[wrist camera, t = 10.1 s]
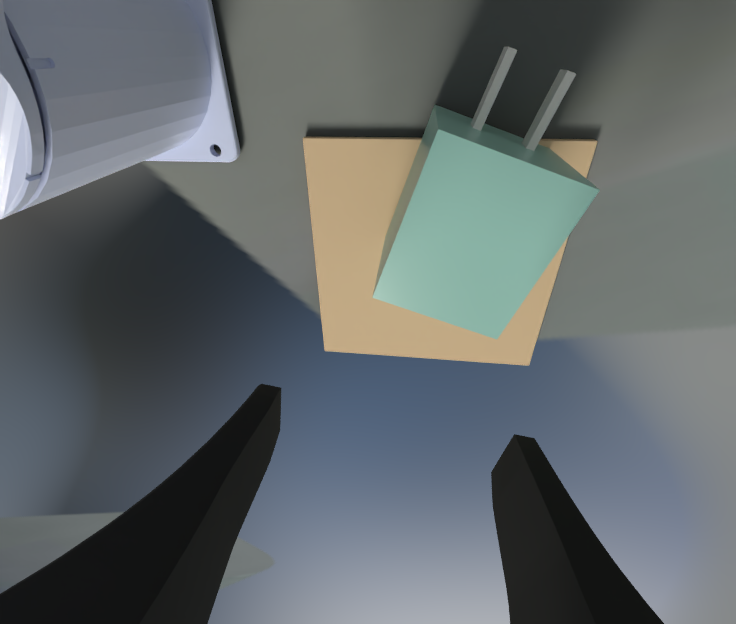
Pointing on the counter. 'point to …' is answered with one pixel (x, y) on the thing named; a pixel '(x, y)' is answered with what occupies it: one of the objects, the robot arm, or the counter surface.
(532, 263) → the charger
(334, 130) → the counter surface
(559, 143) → the cork mat
